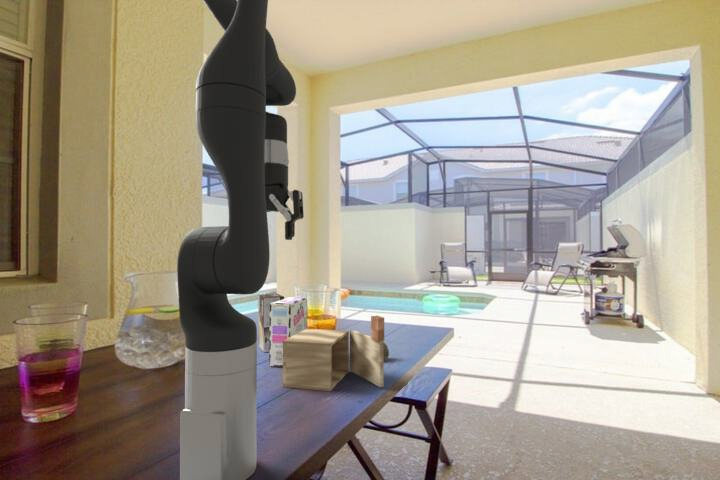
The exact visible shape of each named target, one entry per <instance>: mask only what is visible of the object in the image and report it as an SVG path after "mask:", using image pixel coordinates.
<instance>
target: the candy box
mask: <svg viewBox="0 0 720 480" xmlns="http://www.w3.org/2000/svg"><path fill="white" fill-rule="evenodd" d="M269 329H270V332H269V333H270V334H269V352H268V354H269V355H268V359H269V361H268V363H269V364H268V366H269V367H277V368H278V367H280V368H283V341H284V340H286V339H288V338H289V337H291V336H293V335H295V334H297V333H299V332H301V331H303V330H305V329H308V298H307V297H291V296H289V297H286V298H284V299H283V300H280V301H276V302H273V303H270V328H269Z"/></svg>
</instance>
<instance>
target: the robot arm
mask: <svg viewBox="0 0 720 480" xmlns="http://www.w3.org/2000/svg"><path fill="white" fill-rule="evenodd" d="M202 1H203V3H205V5H206V7H207V9H208V10H209V11H210V13H211V14H212V15H213V17H214V19H215V20H216V21H217V22H218V24H219V25H220V26H221V28H222V30H223V31H224V33H223V35H222V36H221V37H220V38H219V39H218V41H217V43H216V44H215V46H214V47H213V49H212V50H211V51H210V52H209V54H208V56H207V57H206V59H205V60H204V62H203V63H202V65H201V68H200V69H199V72H198V75H197V77H196V82H195V129H196V131H197V134H198V137H199V140H200V142H201V144H202V146H203V148H204V149H205V151H206V153H207V154H208V156H209V158H210V160H211V162H212V163H213V165H214V167H215V168H216V170H217V171H218V174H219V176H220V177H221V179H222V182H223V184H224V186H225V187H224V188H225V193H226V196H227V205H228V225H227V226H201V227H195V228H193V229H191V230H190V231H189V232H188V233H187V234H185V236H184V237H183V239H182V241H181V243H180V245H179V250H178V256H177V262H176V263H177V267H176V269H177V270H176V271H177V292H178V293H177V295H178V312H179V313H178V314H179V315H178V316H179V323H180V325H181V326H180V327H181V329H182V332H183V334H184V338H185V339H184V340H185V342H184V343H185V344H184V345H185V347H184V348H185V349H184V350H185V354H184V357H185V360H184V361H185V365H184V366H185V368H184V370H185V371H184V409H182V410H181V411H180V417H179V419H180V420H179V421H180V425H179V429H180V430H179V433H180V434H179V438H180V439H179V480H247V479H249V478H250V477H251V476H252V475H253V474H254V473H255V471H256V469H257V457H258V456H257V448H258V447H257V444H258V443H257V401H258V400H257V399H258V397H257V377H258V376H257V371H258V370H257V358H258V357H257V355H258V351H257V350H258V343H257V342H258V338H257V337H258V336H257V335H258V330H257V328H258V327H257V324H256V322H255V321H254V320H253V319H252V318H250V317H249V316H246V315H244V314H242V313H241V312H239V311H238V310H237V309H236V308H234V306H232V304H231V303H230V302H229V298H228V295H253V294H256V293H258V292H259V291H260V290H261V289H262V288H263V286H264V285H265V283H266V280H267V279H268V278H267V277H268V274H269V270H270V269H269V268H270V257H271V256H270V254H271V253H270V238H269V236H270V235H269V227H268V226H269V223H268V222H269V221H268V213H270V212H276V213H277V212H279V213H280V214H281V215H282V216H283V218H284V219H285V220H286V221H285V222H284V239H285V241H286V240H287V241H292V240H293V238H294V237H295V234H296V232H295V230H296V229H295V227H296V225H295V224H296V222H297V221H298V220H302V219H304V216H305V215H304V200H303V191H301V190H298V189H293V190H292V191H290V190H289V162H290V160H289V149H288V122H287V119H286V118H285V117H284V116H283V115H280V114H277V113H274V112H273V113H272V112H269V111H267V110H266V109H267V108H266V107H275V106H277V107H286V106H289V105H291V104H292V103H293V102H294V101H295V98H296V95H297V88H296V87H297V86H296V83H295V80H294V78H293V75H292V74H291V72H290V71H289V69H288V68H287V67H286V66H285V64H284V63H283V62H282V60H281V59H280V57H279V54H278V51H277V46H276V44H275V41H274V38H273V36H272V34H271V33H270V31H269V30H268V29H267V17H268V6H269V5H268V4H269V0H202ZM289 198H290V200H291V201H292V204H293V205H292V206H293V207H292V209H293V211H292V210H291V209H290V207H289V206H288V204H287V202H288V200H289Z"/></svg>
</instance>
